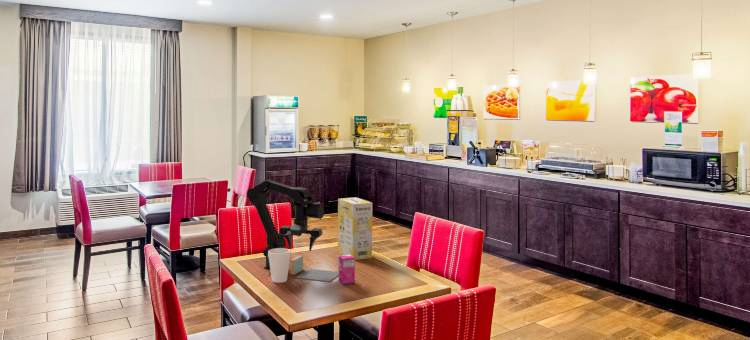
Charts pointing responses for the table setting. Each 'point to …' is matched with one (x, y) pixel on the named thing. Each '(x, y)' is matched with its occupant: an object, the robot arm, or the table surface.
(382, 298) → the table surface
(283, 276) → the foam cup
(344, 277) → the supplement box
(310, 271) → the mat
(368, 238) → the pasta box
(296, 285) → the table surface
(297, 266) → the tile
